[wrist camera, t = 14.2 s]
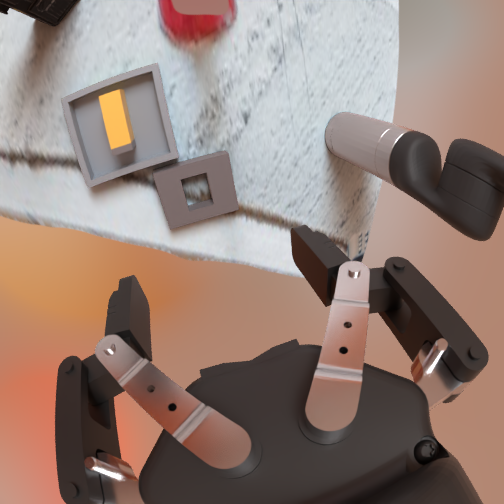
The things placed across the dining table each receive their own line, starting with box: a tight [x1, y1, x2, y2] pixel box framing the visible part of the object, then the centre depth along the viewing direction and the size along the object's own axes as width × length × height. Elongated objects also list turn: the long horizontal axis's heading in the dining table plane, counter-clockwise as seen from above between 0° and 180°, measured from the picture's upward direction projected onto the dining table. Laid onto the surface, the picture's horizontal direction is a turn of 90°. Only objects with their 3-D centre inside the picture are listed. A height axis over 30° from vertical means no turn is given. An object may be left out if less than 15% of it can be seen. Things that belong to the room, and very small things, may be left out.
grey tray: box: [61, 63, 179, 188], centre depth 34 cm, size 15×15×3 cm
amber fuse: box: [99, 89, 136, 156], centre depth 32 cm, size 3×4×9 cm
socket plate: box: [153, 150, 239, 229], centre depth 44 cm, size 12×10×2 cm
